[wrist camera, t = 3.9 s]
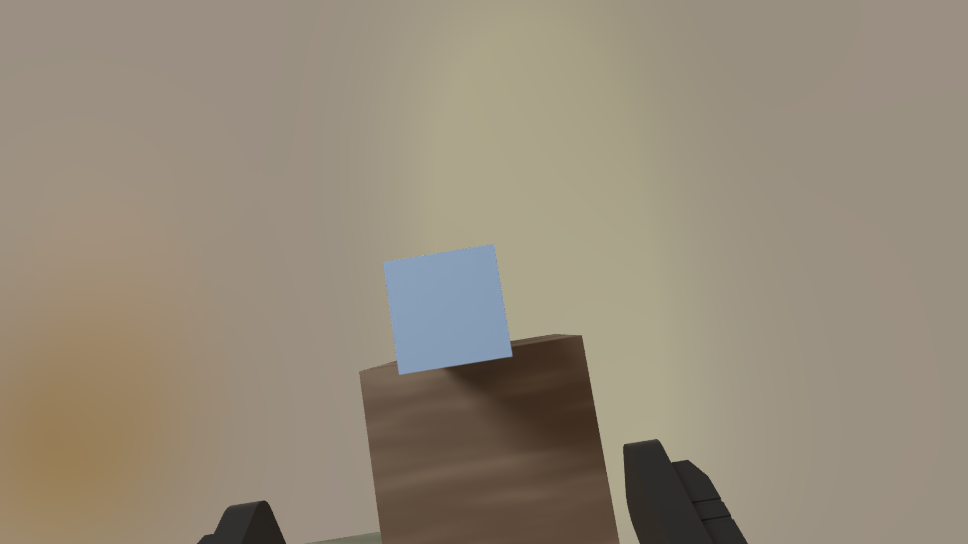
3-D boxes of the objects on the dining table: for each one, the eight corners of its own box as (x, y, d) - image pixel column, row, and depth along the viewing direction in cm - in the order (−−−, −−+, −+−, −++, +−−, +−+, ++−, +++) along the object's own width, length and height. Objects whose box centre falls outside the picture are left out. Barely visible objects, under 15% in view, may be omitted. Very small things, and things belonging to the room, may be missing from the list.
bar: (512, 356, 19) (493, 244, 19) (399, 374, 19) (382, 262, 19) (504, 342, 42) (496, 292, 43) (454, 350, 42) (446, 300, 43)
